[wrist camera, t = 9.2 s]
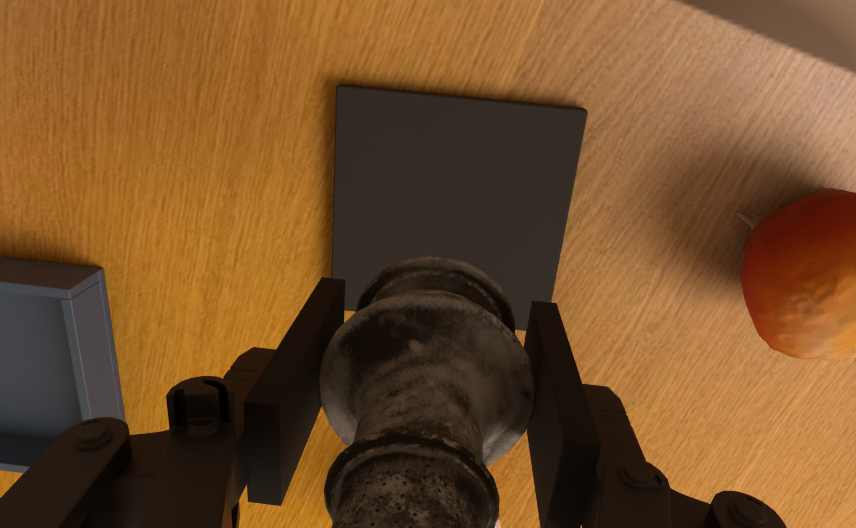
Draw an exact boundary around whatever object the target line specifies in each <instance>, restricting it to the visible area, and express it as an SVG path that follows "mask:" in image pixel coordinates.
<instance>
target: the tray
mask: <svg viewBox="0 0 856 528" xmlns="http://www.w3.org/2000/svg"><path fill="white" fill-rule="evenodd" d="M99 417H112V418H117V419H121V420H122V421H124V422H125V415H124V408H123V401H122V394H121V387H120V380H119V373H118V366H117V359H116V353H115V346H114V339H113V332H112V325H111V318H110V311H109V304H108V297H107V290H106V283H105V276H104V270H103V268H97V267H88V266H79V265H70V264H62V263H53V262H44V261H35V260H26V259H17V258H8V257H0V470H3V471H11V472H19V473H25V472H26V471H27V470H28V469H29V467H30V466H31V465H32V464H33V463H34V462H35V461H36V460H37V459H38V458H39V457H40V456H41V455H42V454H43V453H44V452H45V450H46V449H47V448H48V447H49V446H50V445H51V444H52V443H53V442H54V441H55V440H56V439H57V438H58V437H59V436H60V435H61V434H62V433H63V432H65V431H66V430H67V429H68V428H70V427H71V426H74V425H76V424H78V423H80V422H82V421H85V420H89V419H93V418H99ZM125 423H126V422H125Z"/></svg>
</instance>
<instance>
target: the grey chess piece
mask: <svg viewBox="0 0 856 528" xmlns="http://www.w3.org/2000/svg"><path fill="white" fill-rule="evenodd" d="M535 392H536V383H535V378H534V374H533V370H532V366H531V362H530V358H529V357H528V355H527V353H526V351H525V350H524V348H523V346H522V345H521V343H520V341H519V340H518V338H517V336H516V335H515V321H514V317H513V313H512V309H511V305H510V303H509V301H508V299H507V298H506V296H505V294H504V292H503V291H502V289H501V287H500V286H499V285H498V284H497V283H496V282H495V281H494V280H493V279H492V278H491V277H490V276H489V275H487V274H486V273H485V272H484V271H482V270H480V269H479V268H477V267H475V266H473V265H471V264H470V263H468V262H466V261H462V260H459V259H455V258H451V257H447V256H429V255H422V256H418V257H413V258H409V259H405V260H401V261H399V262H397V263H395V264H393V265H392V266H390V267H388V268H386V269H384V270H382V271H381V272H380V273H379V274H378V275H377V276H376V277H375V278H374V279H373V280H372V281H371V282H370V283H369V284H368V285H367V287H366V289H365V291H364V292H363V294H362V296H361V297H360V299H359V301H358V304H357V308H356V313H355V314H353V315H352V316H351V317H350V318H349V319H348V320H347V321H346V322H345V323H344V324H343V325H342V326H341V327H340V328H339V329H337V330H336V332H335V334H334V335H333V337H332V339H331V341H330V342H329V344H328V346H327V348H326V349H325V351H324V353H323V356H322V361H321V366H320V371H319V394H320V402H321V405H322V407H323V409H324V412H325V414H326V417H327V419H328V422H329V424H330V425H331V427H332V428H333V429H334V431H335V432H336V433H337V435H338V436H339V437H340V438H341V440H342V441H343V442H344V444H345V445H347V446H348V448H346V449H345V450H344V451H343V452H341V453H340V454H339V455H338V457H337V458H336V460H335V461H334V463H333V464H332V466H331V467H330V469H329V471H328V475H327V479H326V483H325V488H324V495H325V504H326V509H327V511H328V513H329V515H330V517H331V520H332V522H333V525H332V528H494V527H495V525H496V522H497V520H498V518H499V494H498V490H497V487H496V484H495V481H494V478H493V477H492V475H491V474H490V472H489V471H488V469H487V468H486V467H487V466H489V465H491V464H492V463H494V462H495V461H496V460H498V459H499V458H500V457H502V456H503V455H505V454H506V453H507V452H509V451H510V450H511V449H512V447H513V446H514V445H515V444H516V442H517V441H518V440H519V439H520V437H521V436H522V435H523V434H524V432H525V431H526V428H527V426H528V423H529V421H530V419H531V416H532V414H533V411H534V405H535Z"/></svg>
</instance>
